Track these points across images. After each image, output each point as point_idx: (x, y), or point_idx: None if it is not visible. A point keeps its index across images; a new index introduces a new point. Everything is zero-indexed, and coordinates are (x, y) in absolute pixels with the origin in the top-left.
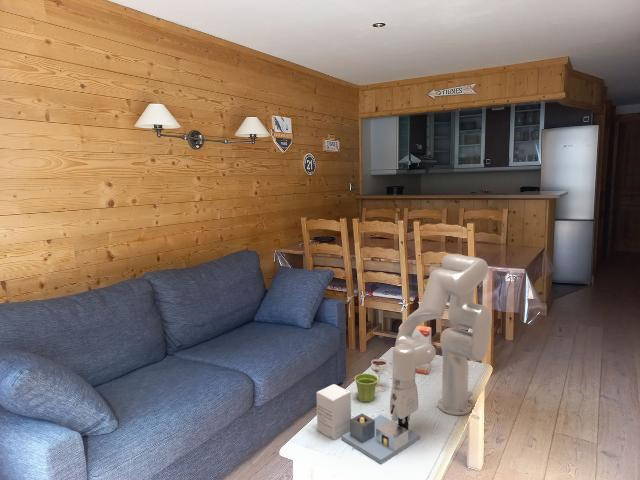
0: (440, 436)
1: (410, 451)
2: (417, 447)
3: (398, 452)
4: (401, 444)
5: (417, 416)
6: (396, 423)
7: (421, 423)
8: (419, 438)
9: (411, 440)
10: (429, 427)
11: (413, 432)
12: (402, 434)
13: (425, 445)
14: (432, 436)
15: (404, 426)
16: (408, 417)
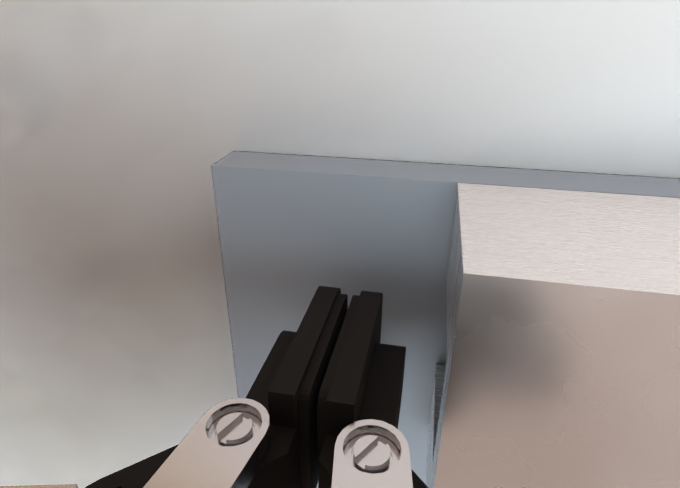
0: (4, 5)
1: (526, 83)
2: (386, 70)
3: (663, 179)
4: (627, 205)
5: (7, 357)
6: None
7: (39, 285)
8: (236, 154)
9: (385, 177)
10: (11, 197)
11: (232, 250)
12: (667, 283)
13: (277, 20)
14: (82, 76)
15: (365, 375)
16: (221, 463)
